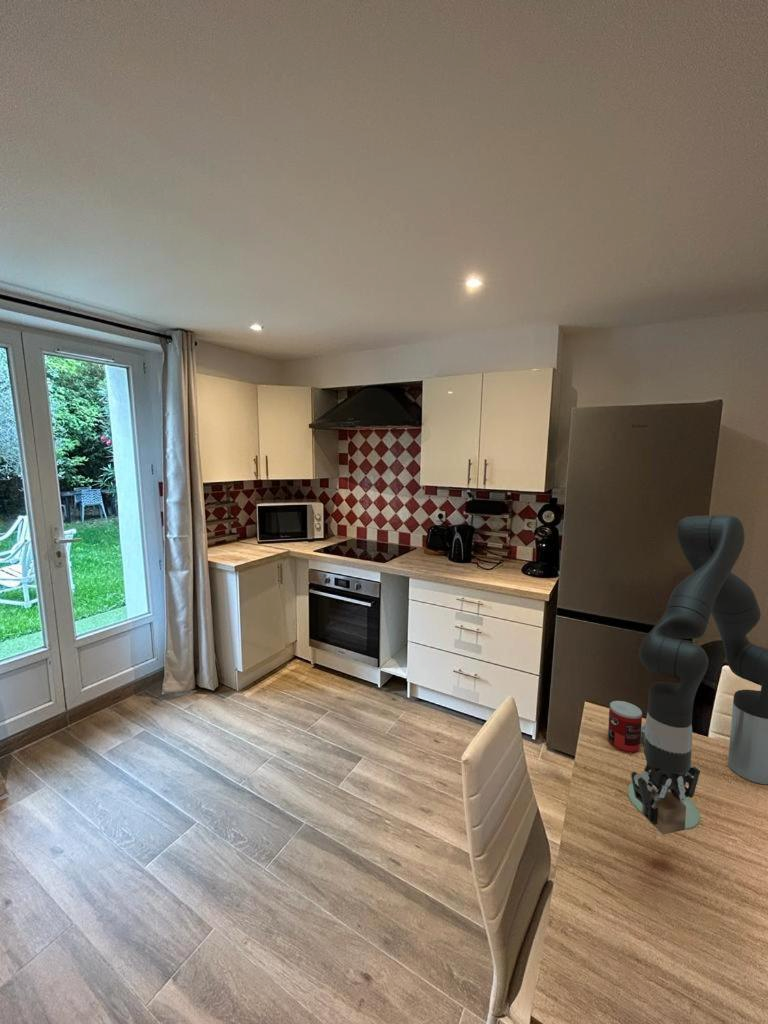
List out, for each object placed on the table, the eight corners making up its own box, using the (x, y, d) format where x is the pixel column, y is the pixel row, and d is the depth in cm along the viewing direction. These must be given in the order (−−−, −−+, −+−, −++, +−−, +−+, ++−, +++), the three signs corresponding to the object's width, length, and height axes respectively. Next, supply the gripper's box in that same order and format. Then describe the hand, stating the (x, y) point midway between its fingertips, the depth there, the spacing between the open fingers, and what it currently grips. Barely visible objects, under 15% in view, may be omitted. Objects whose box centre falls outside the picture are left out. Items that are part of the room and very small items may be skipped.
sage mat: (662, 777, 106) (662, 775, 106) (715, 823, 92) (716, 820, 92) (614, 786, 103) (614, 784, 103) (662, 834, 90) (662, 832, 90)
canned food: (610, 732, 124) (612, 697, 123) (641, 743, 119) (644, 707, 118) (604, 745, 118) (606, 709, 117) (637, 757, 113) (639, 719, 112)
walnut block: (662, 809, 86) (664, 786, 85) (684, 829, 81) (686, 806, 80) (641, 813, 85) (643, 791, 84) (662, 834, 80) (664, 811, 79)
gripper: (681, 721, 86) (676, 797, 88) (621, 731, 83) (617, 809, 85) (717, 745, 78) (710, 827, 80) (652, 757, 75) (647, 842, 77)
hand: (662, 818), depth 82 cm, fingers closed on walnut block, 5 cm apart
